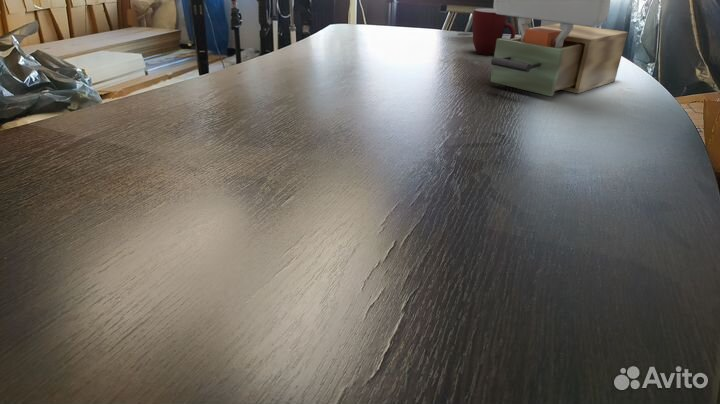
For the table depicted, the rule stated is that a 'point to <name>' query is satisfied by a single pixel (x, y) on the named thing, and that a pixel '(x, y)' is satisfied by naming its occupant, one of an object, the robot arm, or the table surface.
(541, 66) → the drawer
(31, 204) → the table surface
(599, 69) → the cabinet
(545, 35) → the block
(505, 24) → the mug
